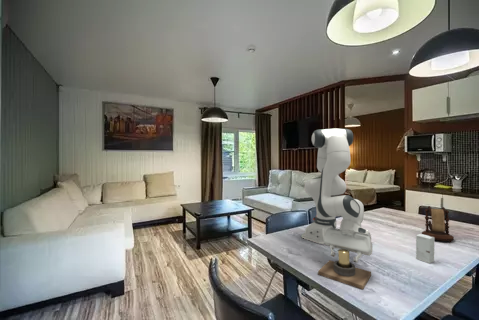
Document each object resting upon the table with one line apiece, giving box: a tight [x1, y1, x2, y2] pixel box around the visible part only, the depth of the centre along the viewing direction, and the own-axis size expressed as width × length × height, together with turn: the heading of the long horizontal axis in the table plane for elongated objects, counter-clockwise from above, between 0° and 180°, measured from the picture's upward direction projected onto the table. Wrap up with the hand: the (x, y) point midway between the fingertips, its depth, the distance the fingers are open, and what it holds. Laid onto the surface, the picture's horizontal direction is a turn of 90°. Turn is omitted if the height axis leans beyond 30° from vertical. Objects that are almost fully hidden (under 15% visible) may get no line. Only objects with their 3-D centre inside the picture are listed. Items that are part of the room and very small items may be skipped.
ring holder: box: [317, 259, 372, 290], centre depth 98 cm, size 18×14×4 cm
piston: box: [337, 249, 351, 268], centre depth 98 cm, size 4×4×9 cm
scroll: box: [421, 205, 455, 243], centre depth 137 cm, size 15×15×20 cm
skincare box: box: [415, 233, 436, 264], centre depth 110 cm, size 6×4×12 cm
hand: (343, 258), depth 98 cm, fingers open, 8 cm apart
